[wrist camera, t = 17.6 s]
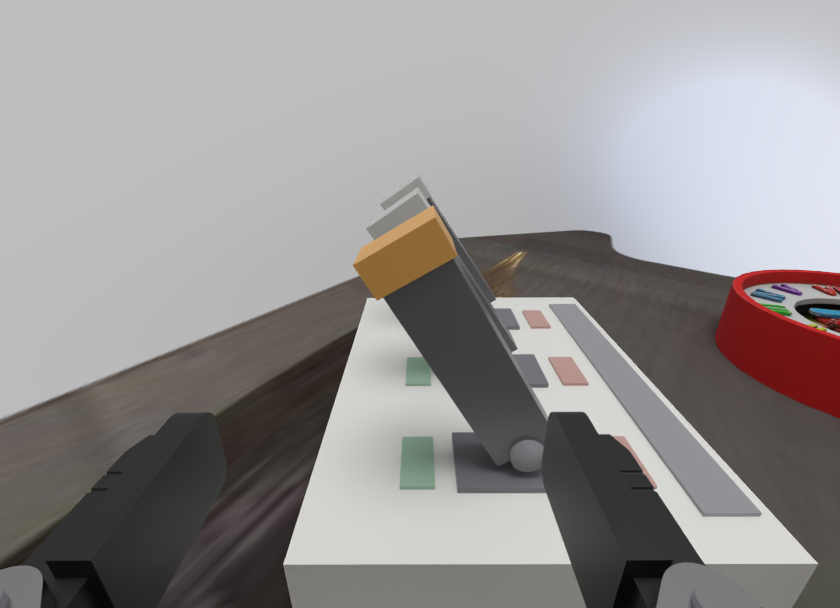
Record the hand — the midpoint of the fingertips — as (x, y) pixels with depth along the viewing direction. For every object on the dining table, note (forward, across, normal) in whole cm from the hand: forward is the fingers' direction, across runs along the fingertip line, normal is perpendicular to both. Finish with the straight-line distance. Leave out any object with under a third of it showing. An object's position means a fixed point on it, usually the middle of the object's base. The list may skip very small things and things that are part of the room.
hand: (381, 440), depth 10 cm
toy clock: (+22, -38, +12) cm, 46 cm away
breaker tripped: (+7, -6, +6) cm, 11 cm away
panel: (+15, -6, +12) cm, 20 cm away
